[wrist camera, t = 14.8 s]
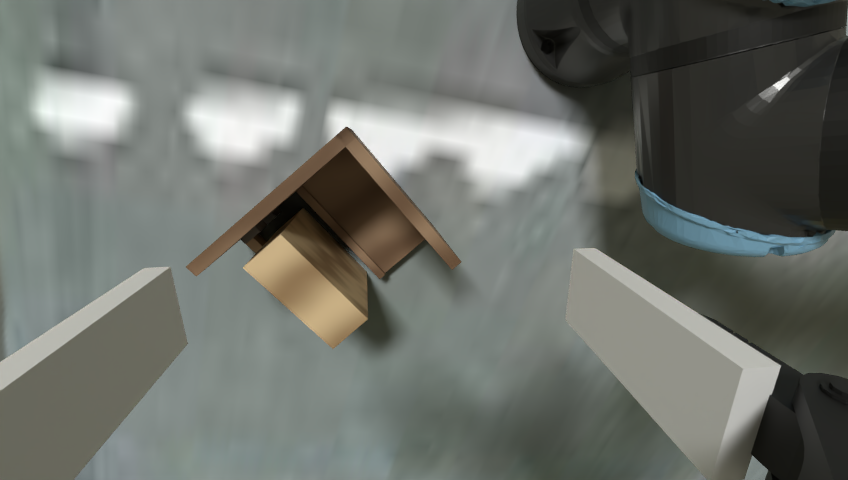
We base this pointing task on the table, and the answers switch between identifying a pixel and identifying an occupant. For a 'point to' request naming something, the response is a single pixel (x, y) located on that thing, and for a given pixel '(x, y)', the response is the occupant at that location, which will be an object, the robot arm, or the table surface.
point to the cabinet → (343, 209)
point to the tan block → (313, 278)
